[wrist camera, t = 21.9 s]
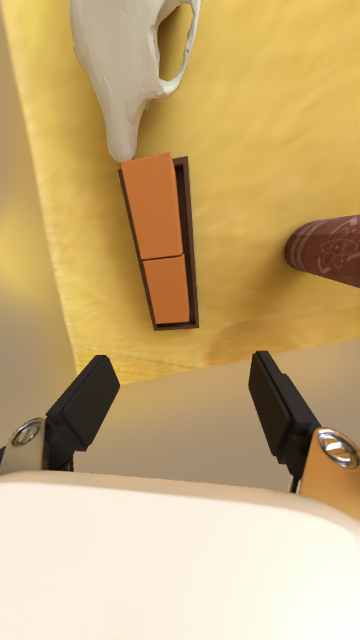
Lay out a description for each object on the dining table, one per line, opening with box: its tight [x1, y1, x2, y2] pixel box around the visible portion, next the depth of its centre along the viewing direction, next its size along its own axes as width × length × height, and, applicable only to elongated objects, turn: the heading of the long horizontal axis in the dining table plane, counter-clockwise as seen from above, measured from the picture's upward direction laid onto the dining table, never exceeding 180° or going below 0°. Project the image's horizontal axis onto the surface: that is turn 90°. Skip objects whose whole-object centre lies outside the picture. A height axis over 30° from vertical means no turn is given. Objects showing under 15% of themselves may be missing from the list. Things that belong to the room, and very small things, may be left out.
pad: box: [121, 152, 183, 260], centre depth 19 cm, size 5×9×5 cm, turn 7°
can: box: [285, 215, 360, 288], centre depth 16 cm, size 6×6×14 cm
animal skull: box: [70, 0, 201, 164], centre depth 13 cm, size 10×16×10 cm, turn 152°
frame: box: [118, 156, 199, 331], centre depth 23 cm, size 8×22×2 cm, turn 7°
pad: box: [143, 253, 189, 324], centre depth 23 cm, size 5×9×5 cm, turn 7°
